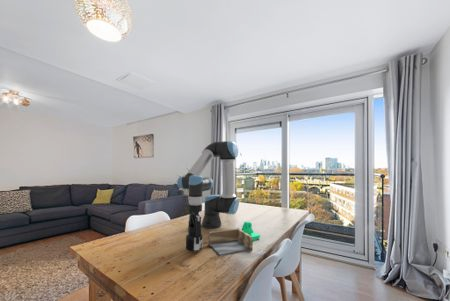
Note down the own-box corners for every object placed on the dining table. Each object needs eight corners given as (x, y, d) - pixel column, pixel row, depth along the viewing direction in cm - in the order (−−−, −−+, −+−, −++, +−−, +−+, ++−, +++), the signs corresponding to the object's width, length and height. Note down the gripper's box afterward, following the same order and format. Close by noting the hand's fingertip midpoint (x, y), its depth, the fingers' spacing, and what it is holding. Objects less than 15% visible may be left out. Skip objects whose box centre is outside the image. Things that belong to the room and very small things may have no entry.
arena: (208, 244, 117) (209, 232, 117) (238, 239, 125) (238, 228, 126) (219, 255, 102) (219, 241, 103) (252, 249, 111) (252, 236, 111)
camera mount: (247, 243, 121) (247, 225, 122) (238, 239, 127) (239, 222, 128) (260, 239, 128) (260, 222, 129) (251, 235, 134) (252, 220, 135)
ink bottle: (199, 252, 102) (199, 229, 103) (182, 251, 103) (183, 227, 104) (204, 245, 111) (204, 223, 112) (189, 243, 113) (190, 222, 114)
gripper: (183, 200, 117) (182, 239, 116) (194, 208, 97) (192, 256, 96) (196, 199, 120) (195, 238, 119) (208, 207, 101) (207, 253, 99)
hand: (194, 246), depth 107 cm, fingers closed on ink bottle, 9 cm apart
